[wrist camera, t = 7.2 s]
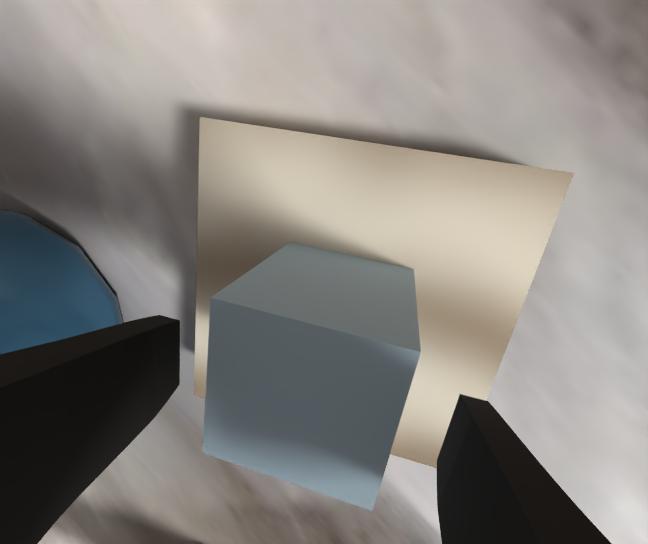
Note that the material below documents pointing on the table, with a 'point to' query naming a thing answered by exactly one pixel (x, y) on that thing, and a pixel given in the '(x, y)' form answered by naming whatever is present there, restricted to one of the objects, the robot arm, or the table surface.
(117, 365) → the robot arm
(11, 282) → the wine bottle
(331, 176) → the plinth
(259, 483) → the table surface
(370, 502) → the block
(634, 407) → the table surface
